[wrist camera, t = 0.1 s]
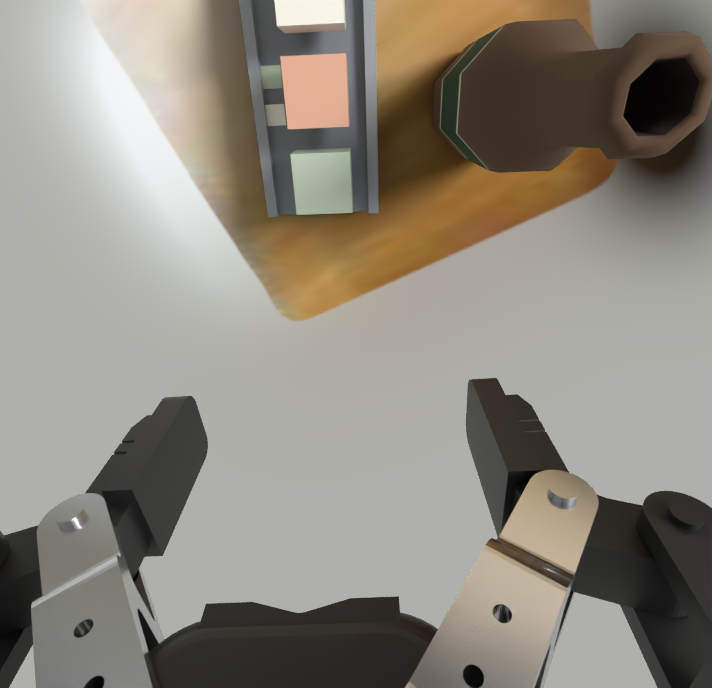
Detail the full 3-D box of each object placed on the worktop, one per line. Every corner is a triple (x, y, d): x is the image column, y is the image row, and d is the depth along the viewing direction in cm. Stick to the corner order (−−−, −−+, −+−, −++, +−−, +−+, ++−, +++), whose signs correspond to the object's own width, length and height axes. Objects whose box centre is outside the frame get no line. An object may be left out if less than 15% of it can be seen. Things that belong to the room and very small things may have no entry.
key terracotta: (287, 60, 29) (280, 56, 26) (347, 57, 29) (345, 52, 26) (293, 127, 31) (287, 129, 28) (349, 124, 31) (348, 126, 28)
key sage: (296, 150, 32) (290, 154, 29) (350, 147, 32) (349, 151, 29) (301, 206, 34) (296, 215, 31) (353, 204, 34) (352, 212, 31)
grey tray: (243, -44, 30) (222, -69, 26) (373, -51, 30) (375, -78, 25) (274, 208, 38) (263, 222, 34) (377, 204, 38) (379, 217, 34)
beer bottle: (547, 68, 33) (875, 3, 12) (496, 170, 37) (680, 259, 16) (455, 24, 32) (640, -134, 11) (411, 134, 35) (487, 178, 14)
